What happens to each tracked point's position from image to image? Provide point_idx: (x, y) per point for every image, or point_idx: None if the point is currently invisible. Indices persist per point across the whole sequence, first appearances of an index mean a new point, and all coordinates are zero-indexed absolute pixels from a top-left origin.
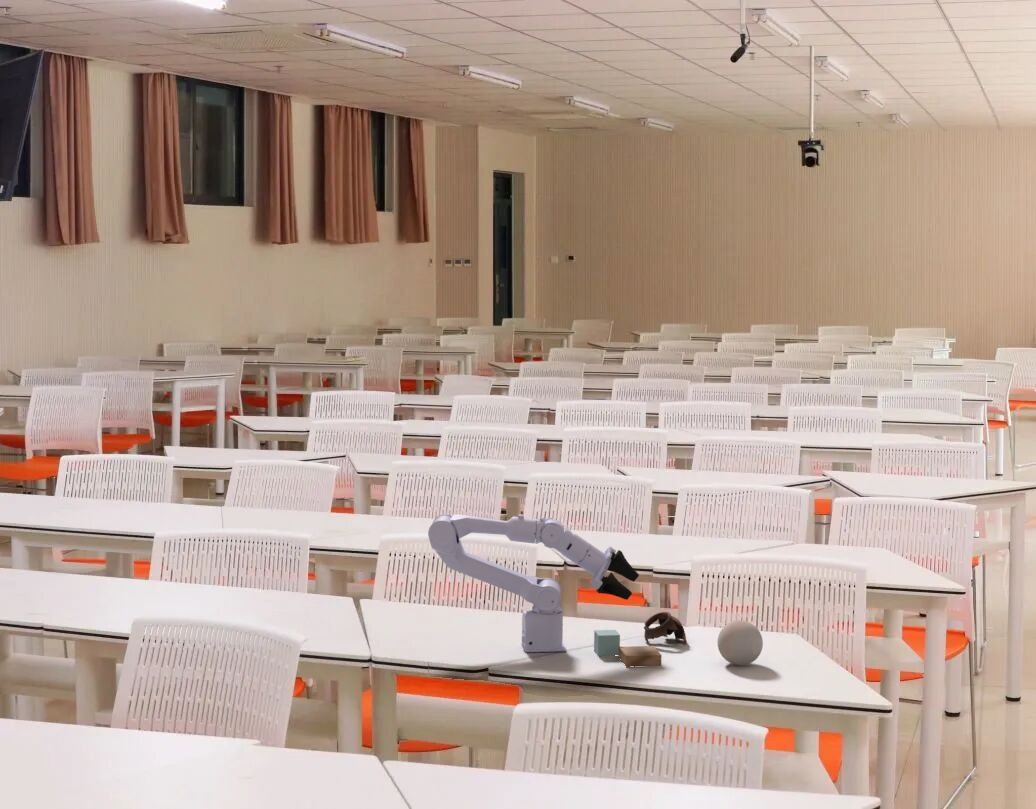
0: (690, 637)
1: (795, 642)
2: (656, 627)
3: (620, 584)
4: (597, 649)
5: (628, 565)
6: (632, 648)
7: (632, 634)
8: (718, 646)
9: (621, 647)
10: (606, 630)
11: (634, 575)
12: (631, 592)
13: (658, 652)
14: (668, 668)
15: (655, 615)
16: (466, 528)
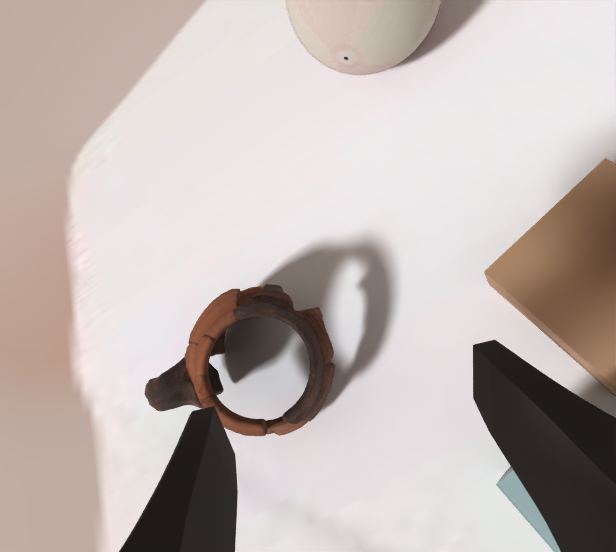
0: (186, 325)
1: (127, 105)
2: (312, 345)
3: (580, 423)
4: None
5: (172, 517)
6: (600, 319)
7: (236, 522)
8: (418, 29)
9: None
10: (547, 528)
11: (217, 443)
12: (476, 348)
13: (574, 191)
14: (604, 146)
15: (213, 400)
16: None
